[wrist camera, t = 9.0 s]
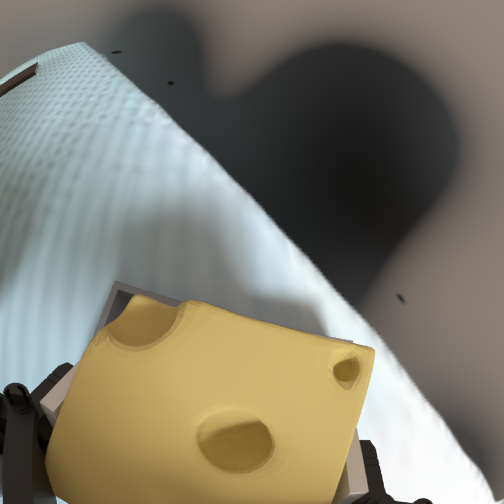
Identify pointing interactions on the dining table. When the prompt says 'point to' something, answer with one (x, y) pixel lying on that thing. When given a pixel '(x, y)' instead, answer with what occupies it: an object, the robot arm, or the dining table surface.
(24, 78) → the hardcover book
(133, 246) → the dining table surface
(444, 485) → the dining table surface
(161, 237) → the dining table surface
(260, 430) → the cheese
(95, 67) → the dining table surface
